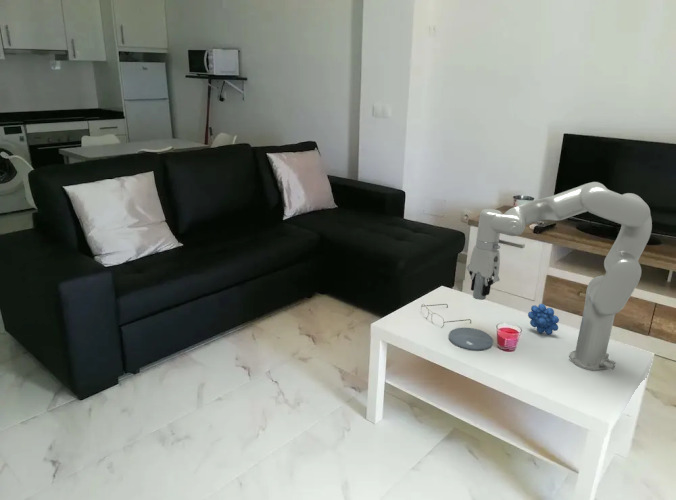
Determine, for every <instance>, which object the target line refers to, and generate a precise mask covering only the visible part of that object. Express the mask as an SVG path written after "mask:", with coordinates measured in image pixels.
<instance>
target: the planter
mask: <svg viewBox="0 0 676 500" xmlns="http://www.w3.org/2000/svg"><path fill="white" fill-rule="evenodd" d="M484 285H485V277H483V276H481V273H480V272H477V273H476V277H475V284H474V290H473V291H472V292H473V293H472V298H473V299H476V300H480V301H481V300H485V299H486V297H487V295H486V296H482V291H483V286H484Z"/></svg>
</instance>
